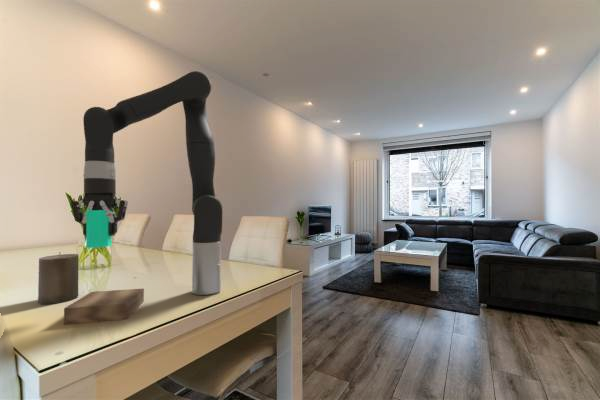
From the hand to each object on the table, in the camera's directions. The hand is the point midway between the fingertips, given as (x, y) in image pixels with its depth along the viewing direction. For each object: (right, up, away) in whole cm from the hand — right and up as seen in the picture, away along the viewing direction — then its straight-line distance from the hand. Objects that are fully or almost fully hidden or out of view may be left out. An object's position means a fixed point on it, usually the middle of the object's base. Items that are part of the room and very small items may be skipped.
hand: (100, 235), depth 80 cm
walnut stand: (+5, -21, -3) cm, 22 cm away
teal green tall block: (0, -3, 0) cm, 3 cm away
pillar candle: (-19, -21, +7) cm, 29 cm away
